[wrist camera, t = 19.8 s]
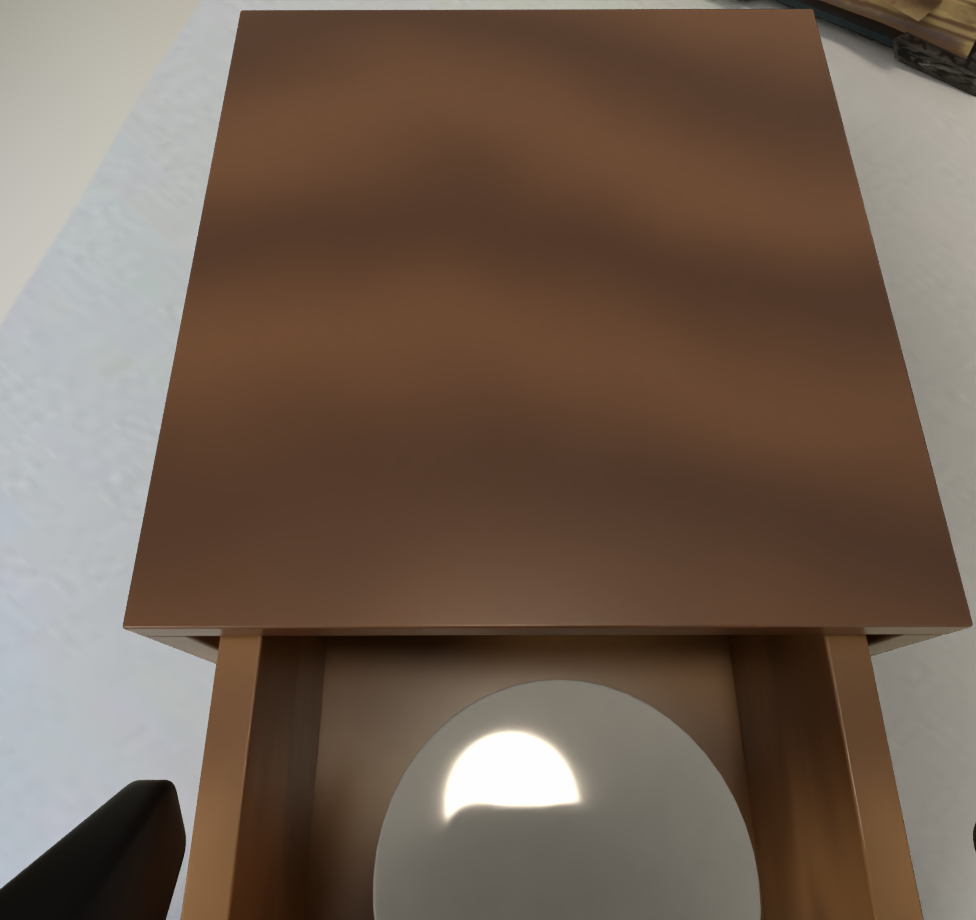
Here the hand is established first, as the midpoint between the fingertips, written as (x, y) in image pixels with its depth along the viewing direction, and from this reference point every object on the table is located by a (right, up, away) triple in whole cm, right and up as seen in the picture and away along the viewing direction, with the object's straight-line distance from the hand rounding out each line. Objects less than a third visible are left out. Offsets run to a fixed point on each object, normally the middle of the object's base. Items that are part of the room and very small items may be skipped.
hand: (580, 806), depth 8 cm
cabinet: (0, +5, +15) cm, 16 cm away
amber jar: (0, -5, +9) cm, 10 cm away
